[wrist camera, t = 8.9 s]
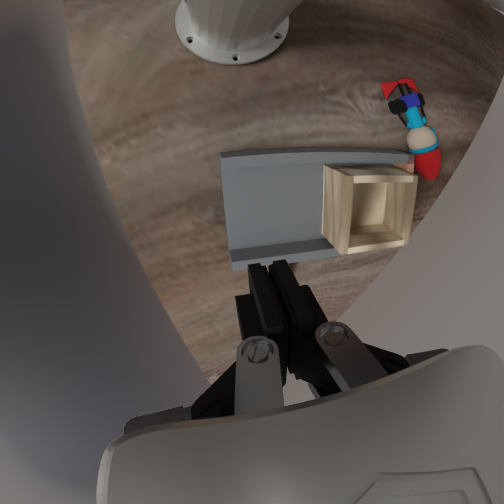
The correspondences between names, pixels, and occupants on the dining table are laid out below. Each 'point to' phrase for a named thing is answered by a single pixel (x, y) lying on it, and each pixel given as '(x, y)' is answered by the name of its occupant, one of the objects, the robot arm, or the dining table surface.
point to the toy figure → (416, 128)
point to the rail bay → (285, 200)
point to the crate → (367, 206)
